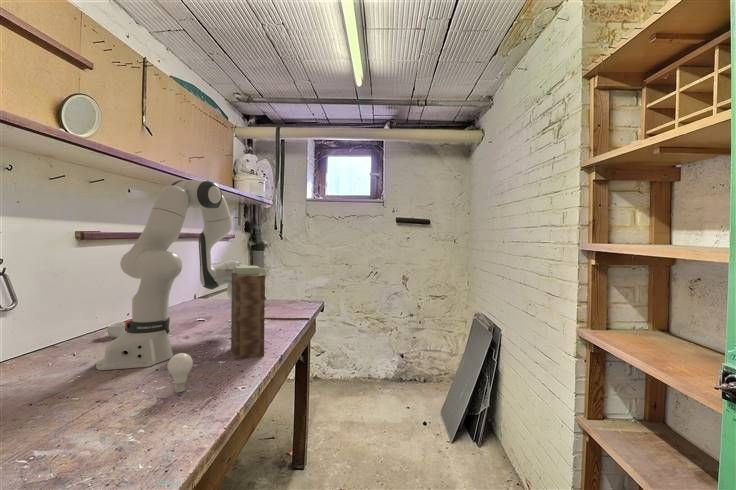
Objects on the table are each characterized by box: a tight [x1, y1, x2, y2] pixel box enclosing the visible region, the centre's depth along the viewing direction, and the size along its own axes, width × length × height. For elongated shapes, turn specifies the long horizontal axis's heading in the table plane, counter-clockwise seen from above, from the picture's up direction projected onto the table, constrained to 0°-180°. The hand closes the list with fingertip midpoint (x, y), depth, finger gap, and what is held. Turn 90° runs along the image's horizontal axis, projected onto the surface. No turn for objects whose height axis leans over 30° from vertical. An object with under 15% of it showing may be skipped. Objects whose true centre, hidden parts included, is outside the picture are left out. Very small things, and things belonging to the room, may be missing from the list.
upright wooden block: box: [230, 272, 266, 361], centre depth 134 cm, size 10×14×30 cm
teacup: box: [106, 321, 126, 339], centre depth 152 cm, size 10×8×5 cm
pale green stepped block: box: [235, 263, 261, 275], centre depth 139 cm, size 8×19×2 cm, turn 27°
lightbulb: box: [166, 352, 194, 394], centre depth 99 cm, size 6×6×11 cm
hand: (243, 266), depth 143 cm, fingers closed on pale green stepped block, 3 cm apart
